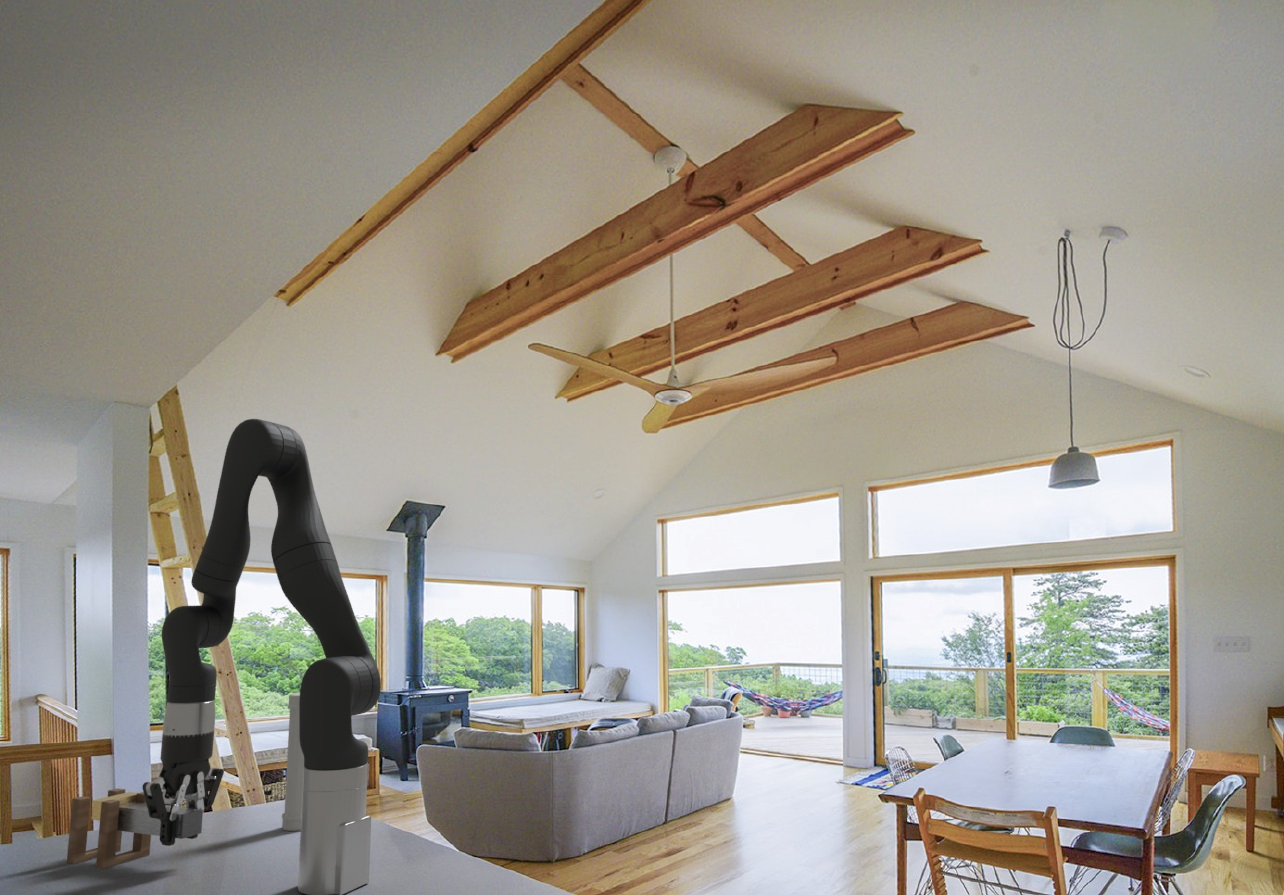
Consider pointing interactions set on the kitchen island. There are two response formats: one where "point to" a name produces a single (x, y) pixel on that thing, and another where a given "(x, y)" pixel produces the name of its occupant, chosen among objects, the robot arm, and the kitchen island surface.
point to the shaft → (158, 820)
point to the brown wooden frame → (103, 834)
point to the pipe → (293, 769)
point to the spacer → (121, 797)
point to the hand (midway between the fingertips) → (179, 840)
